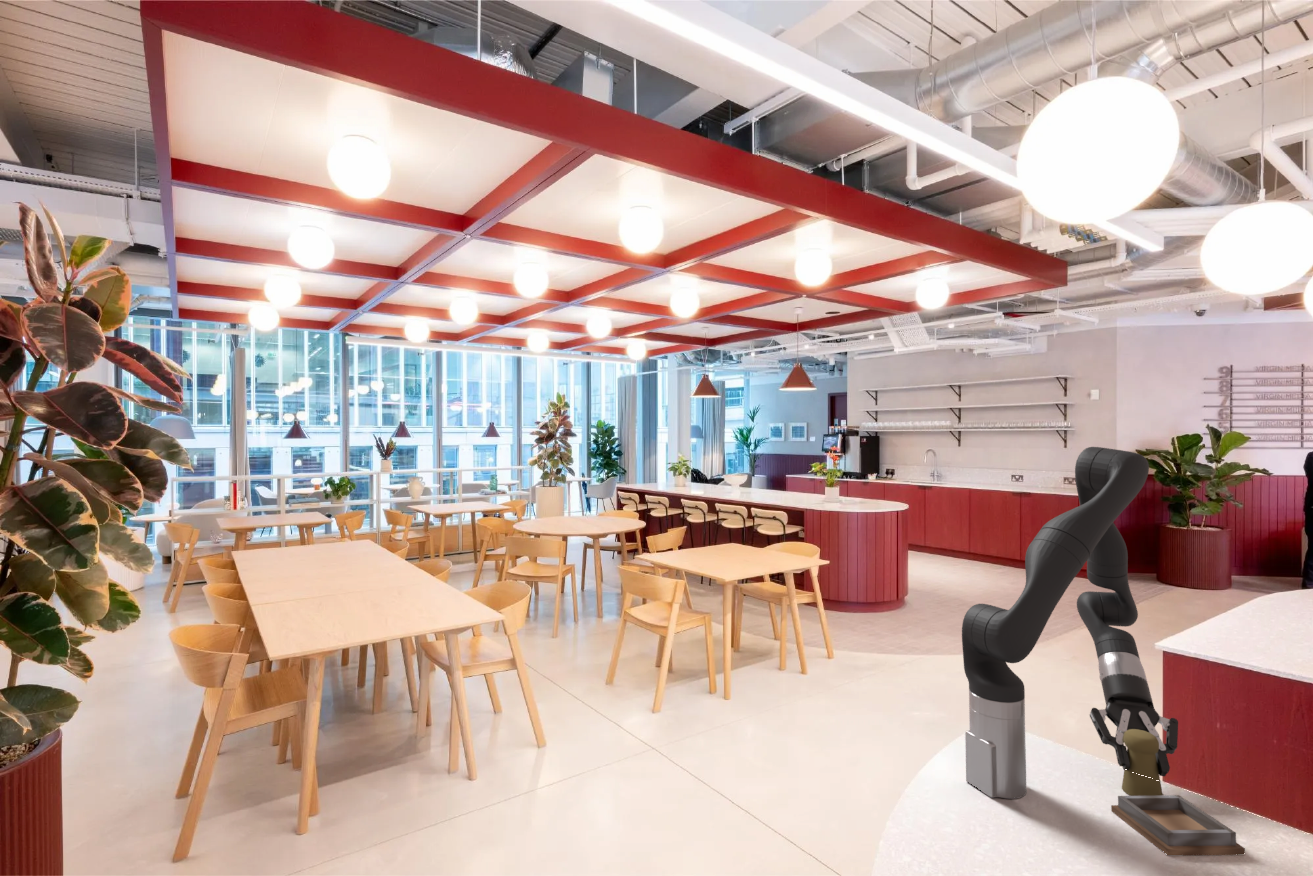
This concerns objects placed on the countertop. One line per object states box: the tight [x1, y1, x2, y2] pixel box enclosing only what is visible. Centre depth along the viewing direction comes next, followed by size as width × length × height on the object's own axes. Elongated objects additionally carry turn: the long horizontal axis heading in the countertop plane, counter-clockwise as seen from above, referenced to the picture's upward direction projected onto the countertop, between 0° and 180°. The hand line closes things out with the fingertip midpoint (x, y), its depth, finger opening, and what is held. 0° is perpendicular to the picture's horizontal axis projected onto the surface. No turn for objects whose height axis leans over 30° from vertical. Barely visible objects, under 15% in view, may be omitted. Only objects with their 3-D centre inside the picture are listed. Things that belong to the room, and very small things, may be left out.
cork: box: [1121, 729, 1163, 796], centre depth 115 cm, size 6×6×11 cm
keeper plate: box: [1110, 794, 1246, 856], centre depth 103 cm, size 12×12×3 cm
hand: (1145, 771), depth 113 cm, fingers closed on cork, 4 cm apart
